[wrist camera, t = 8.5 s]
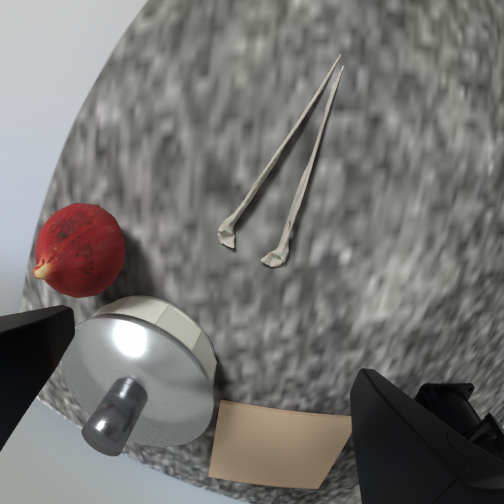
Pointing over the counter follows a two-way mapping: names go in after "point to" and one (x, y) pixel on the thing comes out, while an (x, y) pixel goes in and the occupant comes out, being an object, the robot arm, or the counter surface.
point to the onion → (80, 250)
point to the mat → (276, 445)
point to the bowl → (168, 325)
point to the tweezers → (282, 251)
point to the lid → (136, 384)
